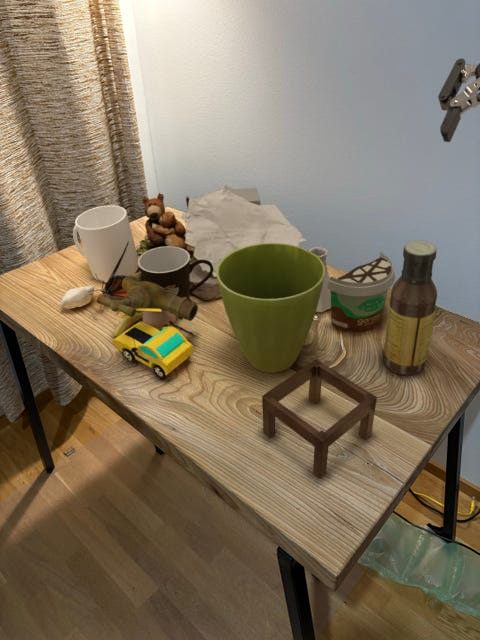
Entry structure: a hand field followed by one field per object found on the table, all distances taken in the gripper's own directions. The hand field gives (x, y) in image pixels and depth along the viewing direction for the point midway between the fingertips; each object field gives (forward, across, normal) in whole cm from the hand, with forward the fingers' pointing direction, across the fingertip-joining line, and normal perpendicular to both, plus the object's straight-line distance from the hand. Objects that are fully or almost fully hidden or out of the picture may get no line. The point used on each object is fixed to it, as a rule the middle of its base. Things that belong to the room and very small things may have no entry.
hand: (479, 144), depth 67 cm
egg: (+34, -39, +6) cm, 52 cm away
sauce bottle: (+28, -2, +16) cm, 32 cm away
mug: (+34, -59, +10) cm, 69 cm away
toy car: (+43, -33, 0) cm, 54 cm away
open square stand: (+42, -5, +2) cm, 42 cm away
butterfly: (+37, -53, +2) cm, 65 cm away
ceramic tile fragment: (+31, -40, +9) cm, 52 cm away
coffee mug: (+35, -39, +9) cm, 53 cm away
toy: (+17, -40, +20) cm, 48 cm away
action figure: (+32, -38, +3) cm, 50 cm away
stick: (+36, -33, +2) cm, 49 cm away
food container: (+24, -11, +20) cm, 33 cm away
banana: (+41, -44, +2) cm, 60 cm away
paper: (+8, -44, +14) cm, 47 cm away
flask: (+24, -21, +20) cm, 37 cm away
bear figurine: (+26, -53, +17) cm, 62 cm away
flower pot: (+35, -19, +8) cm, 41 cm away
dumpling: (+41, -55, +2) cm, 69 cm away
